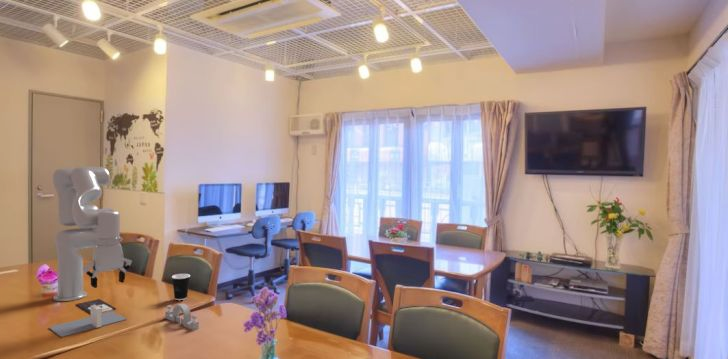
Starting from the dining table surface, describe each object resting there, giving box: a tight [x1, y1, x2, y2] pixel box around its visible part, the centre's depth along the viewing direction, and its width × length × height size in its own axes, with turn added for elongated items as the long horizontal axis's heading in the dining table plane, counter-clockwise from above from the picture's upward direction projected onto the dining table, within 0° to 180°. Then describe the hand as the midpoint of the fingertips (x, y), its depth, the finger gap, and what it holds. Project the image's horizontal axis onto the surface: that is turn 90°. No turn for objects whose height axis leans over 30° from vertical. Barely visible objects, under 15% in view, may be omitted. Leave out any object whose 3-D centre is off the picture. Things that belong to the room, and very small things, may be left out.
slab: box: [89, 305, 103, 328], centre depth 156 cm, size 7×2×6 cm
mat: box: [48, 310, 128, 338], centre depth 158 cm, size 13×22×1 cm, turn 144°
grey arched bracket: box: [164, 303, 200, 331], centre depth 161 cm, size 20×2×8 cm, turn 55°
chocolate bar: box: [75, 298, 117, 315], centre depth 176 cm, size 9×1×18 cm
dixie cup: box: [171, 273, 191, 301], centre depth 189 cm, size 8×8×11 cm
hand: (108, 284), depth 162 cm, fingers open, 9 cm apart
